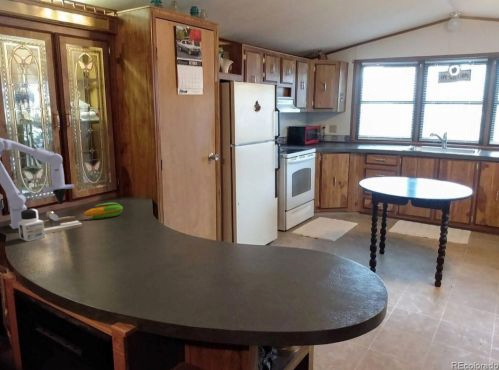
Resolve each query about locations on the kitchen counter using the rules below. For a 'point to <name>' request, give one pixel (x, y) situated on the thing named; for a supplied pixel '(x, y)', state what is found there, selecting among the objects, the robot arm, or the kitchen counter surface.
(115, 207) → the corn
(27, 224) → the container
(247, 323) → the kitchen counter surface
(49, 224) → the brown-striped cream panel
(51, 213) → the bar
